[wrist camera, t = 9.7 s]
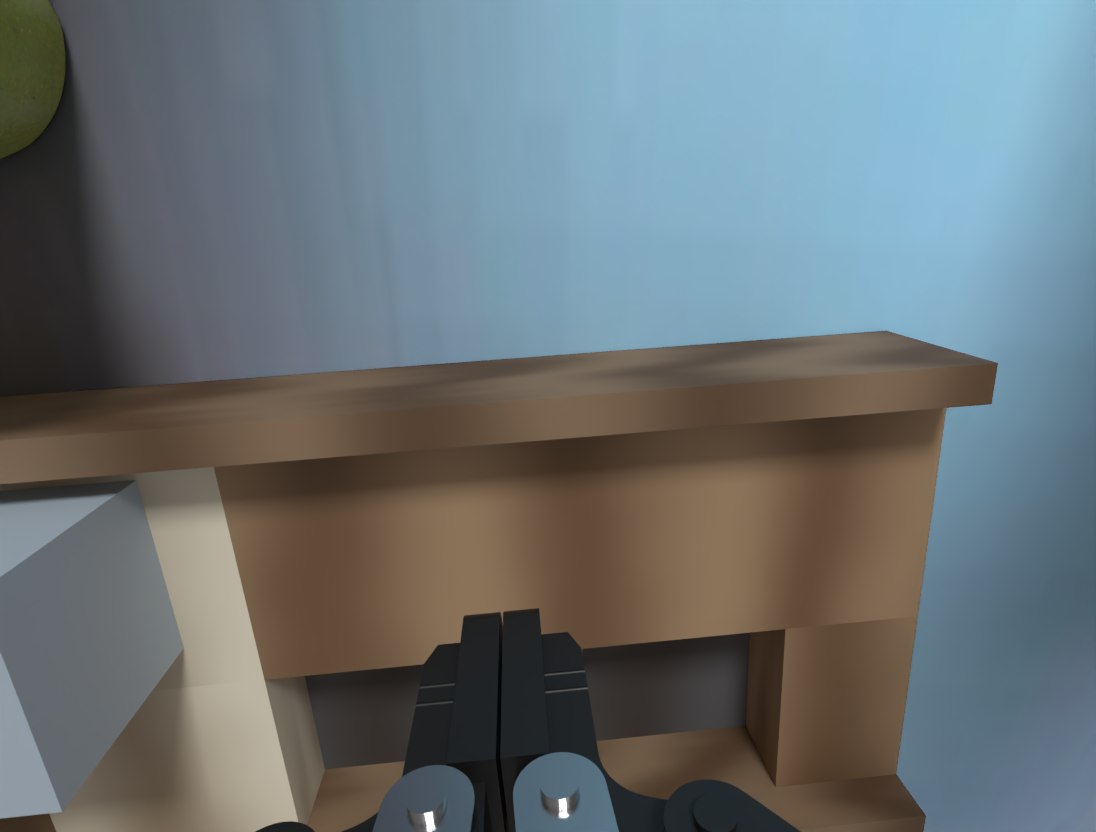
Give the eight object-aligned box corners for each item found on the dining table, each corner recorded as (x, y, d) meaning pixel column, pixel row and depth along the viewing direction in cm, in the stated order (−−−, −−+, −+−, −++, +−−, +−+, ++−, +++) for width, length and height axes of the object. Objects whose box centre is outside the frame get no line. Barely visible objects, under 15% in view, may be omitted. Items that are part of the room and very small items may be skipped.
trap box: (886, 330, 19) (997, 363, 15) (845, 727, 24) (921, 840, 19) (-42, 399, 18) (-215, 457, 13) (104, 806, 22) (9, 945, 18)
